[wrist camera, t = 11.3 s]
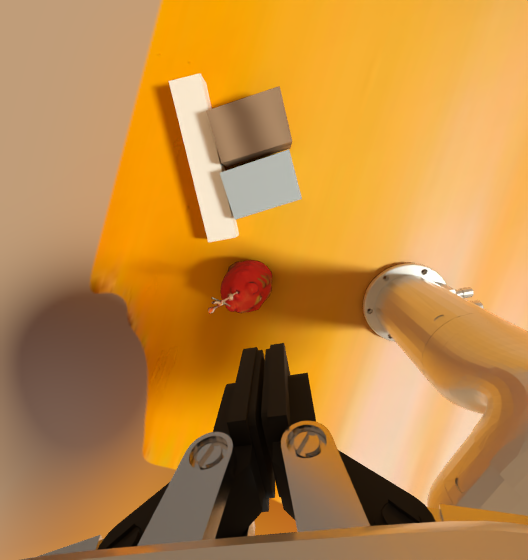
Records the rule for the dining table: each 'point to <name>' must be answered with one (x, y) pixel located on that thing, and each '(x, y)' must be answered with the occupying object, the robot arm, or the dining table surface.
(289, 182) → the slate block
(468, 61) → the dining table surface
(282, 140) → the walnut block
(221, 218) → the stop rail
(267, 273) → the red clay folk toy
